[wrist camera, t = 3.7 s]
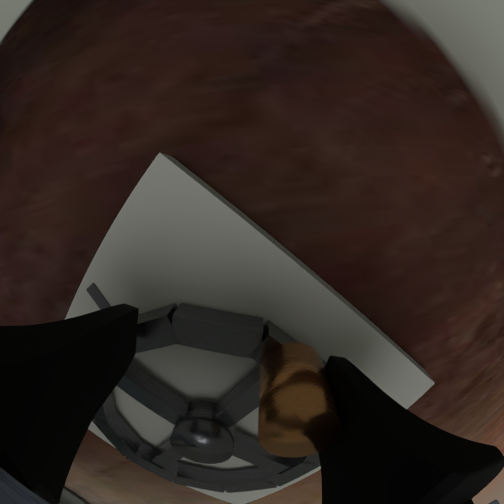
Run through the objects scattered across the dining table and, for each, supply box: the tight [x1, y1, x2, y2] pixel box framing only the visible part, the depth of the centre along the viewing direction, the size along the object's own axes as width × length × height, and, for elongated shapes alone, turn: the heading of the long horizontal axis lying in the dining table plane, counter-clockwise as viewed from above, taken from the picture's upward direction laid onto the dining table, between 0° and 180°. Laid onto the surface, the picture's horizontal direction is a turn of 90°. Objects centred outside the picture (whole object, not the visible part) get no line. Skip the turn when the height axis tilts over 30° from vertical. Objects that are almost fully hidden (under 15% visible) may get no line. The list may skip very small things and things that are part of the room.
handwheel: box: [92, 303, 341, 493], centre depth 10 cm, size 14×13×5 cm
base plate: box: [65, 153, 435, 504], centre depth 13 cm, size 18×18×2 cm
